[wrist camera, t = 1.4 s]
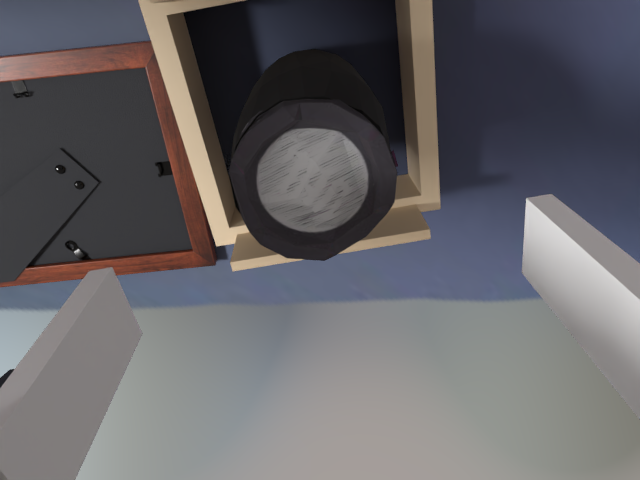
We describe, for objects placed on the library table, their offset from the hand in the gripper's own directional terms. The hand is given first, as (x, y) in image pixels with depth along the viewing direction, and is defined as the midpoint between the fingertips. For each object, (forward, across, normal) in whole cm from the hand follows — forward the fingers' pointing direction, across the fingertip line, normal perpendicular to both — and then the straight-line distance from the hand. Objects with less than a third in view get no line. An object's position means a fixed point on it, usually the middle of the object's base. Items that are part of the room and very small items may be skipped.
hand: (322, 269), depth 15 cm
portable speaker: (+27, 0, 0) cm, 27 cm away
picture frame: (+27, -23, -3) cm, 36 cm away
